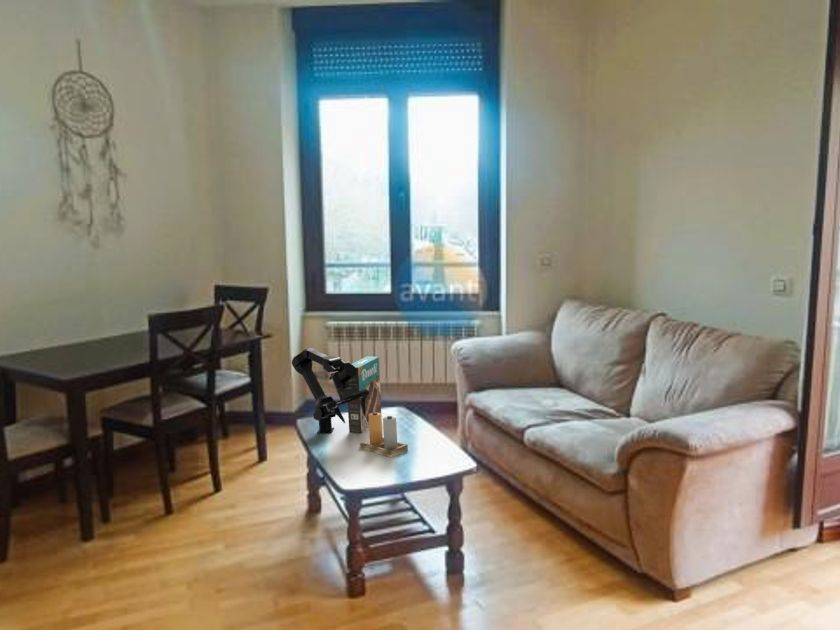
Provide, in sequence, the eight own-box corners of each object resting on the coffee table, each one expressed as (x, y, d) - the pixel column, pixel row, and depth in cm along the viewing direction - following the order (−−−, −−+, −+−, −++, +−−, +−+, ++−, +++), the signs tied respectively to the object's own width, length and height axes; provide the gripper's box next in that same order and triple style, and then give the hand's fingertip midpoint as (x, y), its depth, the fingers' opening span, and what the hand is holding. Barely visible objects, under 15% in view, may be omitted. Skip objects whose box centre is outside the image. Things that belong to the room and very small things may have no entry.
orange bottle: (368, 443, 285) (367, 411, 283) (381, 441, 286) (379, 410, 284) (371, 447, 280) (369, 415, 278) (384, 445, 281) (382, 413, 279)
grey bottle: (385, 446, 280) (383, 414, 278) (398, 446, 280) (396, 414, 277) (383, 451, 275) (381, 418, 273) (396, 451, 274) (395, 418, 272)
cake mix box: (361, 433, 301) (358, 367, 296) (349, 432, 303) (345, 366, 298) (381, 418, 321) (378, 356, 316) (370, 417, 323) (367, 356, 318)
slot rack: (359, 448, 283) (359, 442, 282) (377, 441, 290) (377, 435, 290) (390, 457, 271) (390, 451, 270) (407, 450, 278) (407, 444, 277)
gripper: (322, 388, 282) (335, 423, 278) (364, 373, 287) (377, 407, 283) (320, 394, 292) (333, 428, 288) (361, 379, 297) (374, 412, 294)
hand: (354, 419), depth 288 cm, fingers open, 9 cm apart
